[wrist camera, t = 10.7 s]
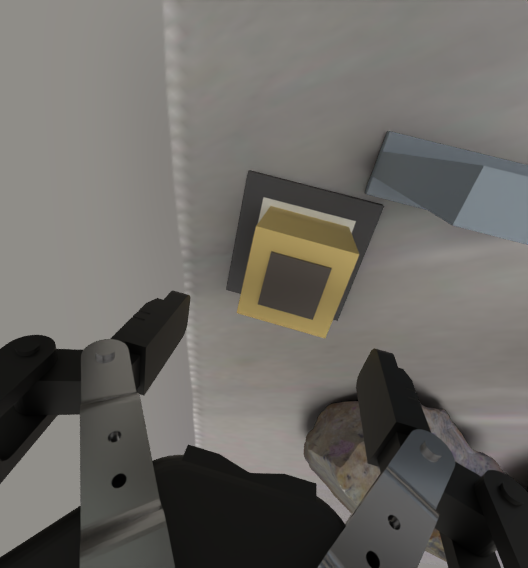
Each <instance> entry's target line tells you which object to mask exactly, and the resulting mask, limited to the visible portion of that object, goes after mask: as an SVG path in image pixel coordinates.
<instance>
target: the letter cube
mask: <svg viewBox="0 0 528 568" xmlns="http://www.w3.org/2000/svg"><path fill="white" fill-rule="evenodd" d="M358 257H359V252H358V249H357V247H356V244H355V241H354V239H353V236H352V234H351V231H350V228H349V227H347V226H343V225H340V224H336V223H332V222H329V221H325V220H321V219H318V218H314V217H310V216H307V215H303V214H299V213H295V212H292V211H288V210H284V209H281V208H277V207H273V206H270V207H269V209H268V210H267V212H266V213H265V214H264V216H263V217H262V219H261V220H260V221H259V223H258V224H257V225H256V228H255V233H254V237H253V239H252V243H251V247H250V252H249V256H248V261H247V265H246V270H245V274H244V279H243V283H242V288H241V289H242V291H241V296H240V300H239V305H238V309H237V313H239V314H242V315H245V316H249V317H252V318H256V319H259V320H263V321H266V322H270V323H273V324H277V325H280V326H284V327H287V328H291V329H294V330H298V331H301V332H305V333H308V334H312V335H315V336H318V337H322V338H326V335H327V333H328V330H329V328H330V325H331V323H332V321H333V318H334V316H335V313H336V311H337V308H338V306H339V303H340V301H341V298H342V296H343V294H344V291H345V289H346V286H347V284H348V281H349V279H350V276H351V274H352V272H353V269H354V267H355V264H356V262H357V259H358Z"/></svg>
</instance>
